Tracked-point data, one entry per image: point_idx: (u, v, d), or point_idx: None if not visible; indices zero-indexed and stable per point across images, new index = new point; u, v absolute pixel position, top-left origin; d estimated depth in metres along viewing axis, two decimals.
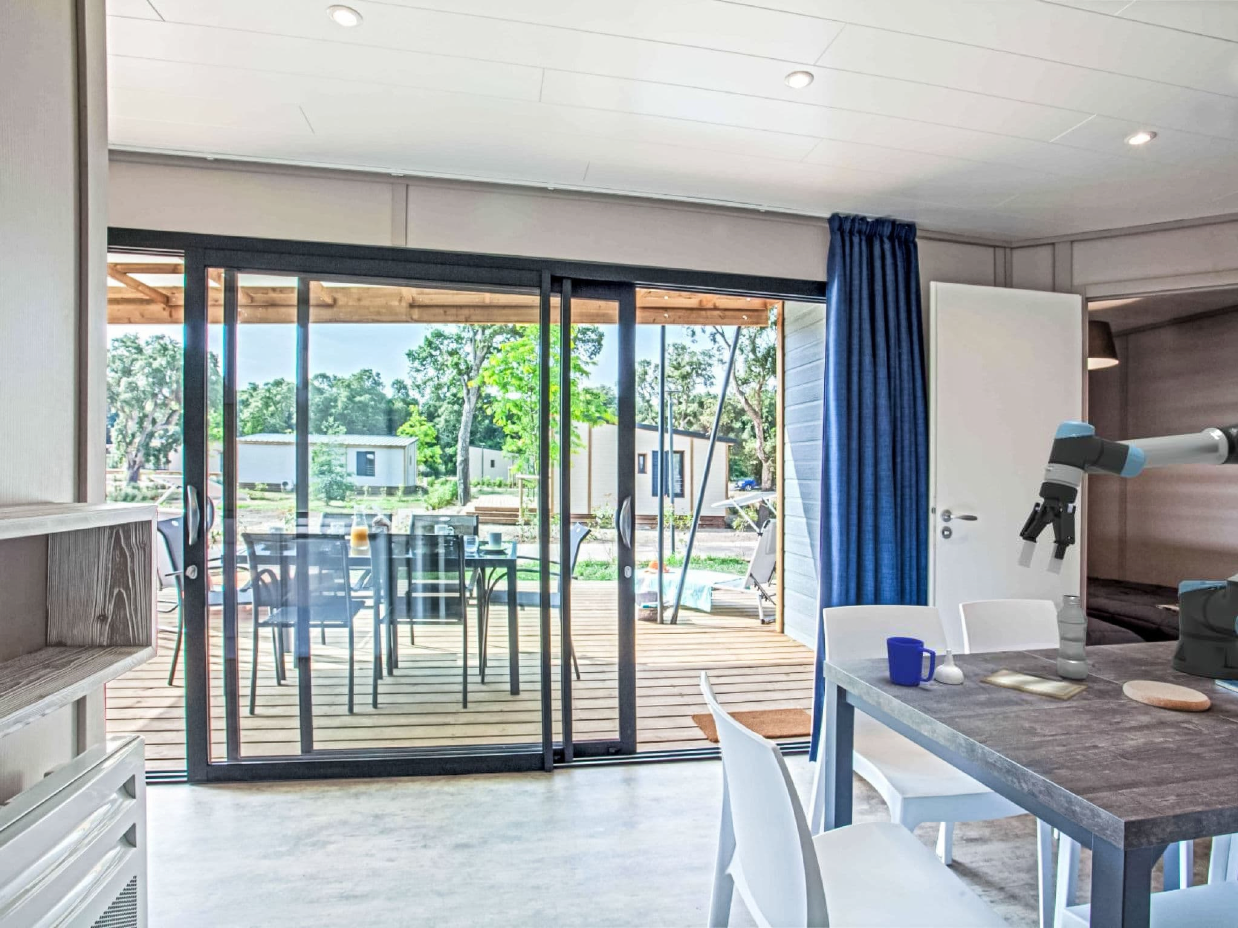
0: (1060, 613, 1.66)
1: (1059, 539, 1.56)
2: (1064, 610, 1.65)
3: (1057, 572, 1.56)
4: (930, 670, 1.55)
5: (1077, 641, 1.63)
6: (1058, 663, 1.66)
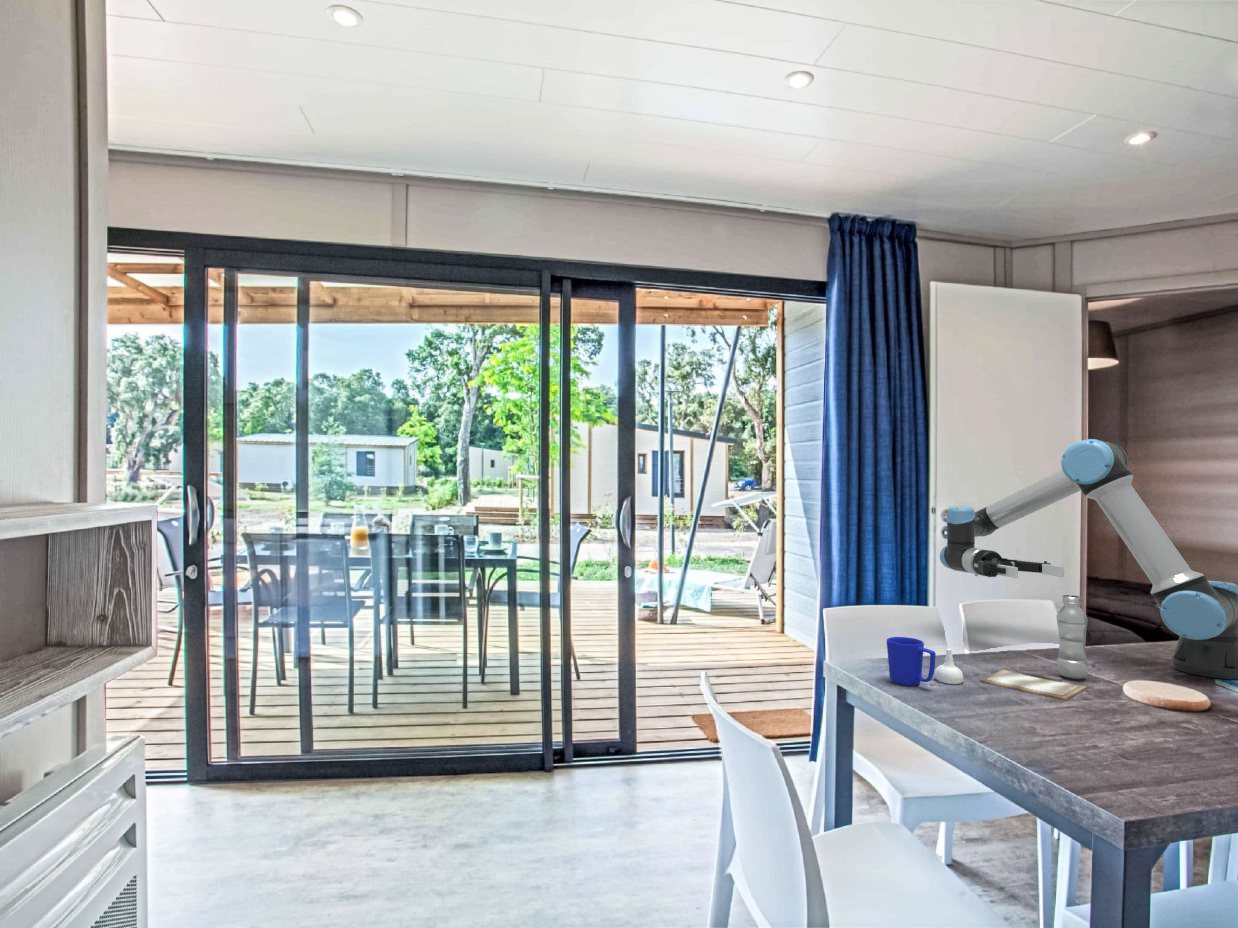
0: (1060, 613, 1.66)
1: (991, 572, 1.82)
2: (1064, 610, 1.65)
3: (1014, 569, 1.75)
4: (930, 670, 1.55)
5: (1077, 641, 1.63)
6: (1058, 663, 1.66)
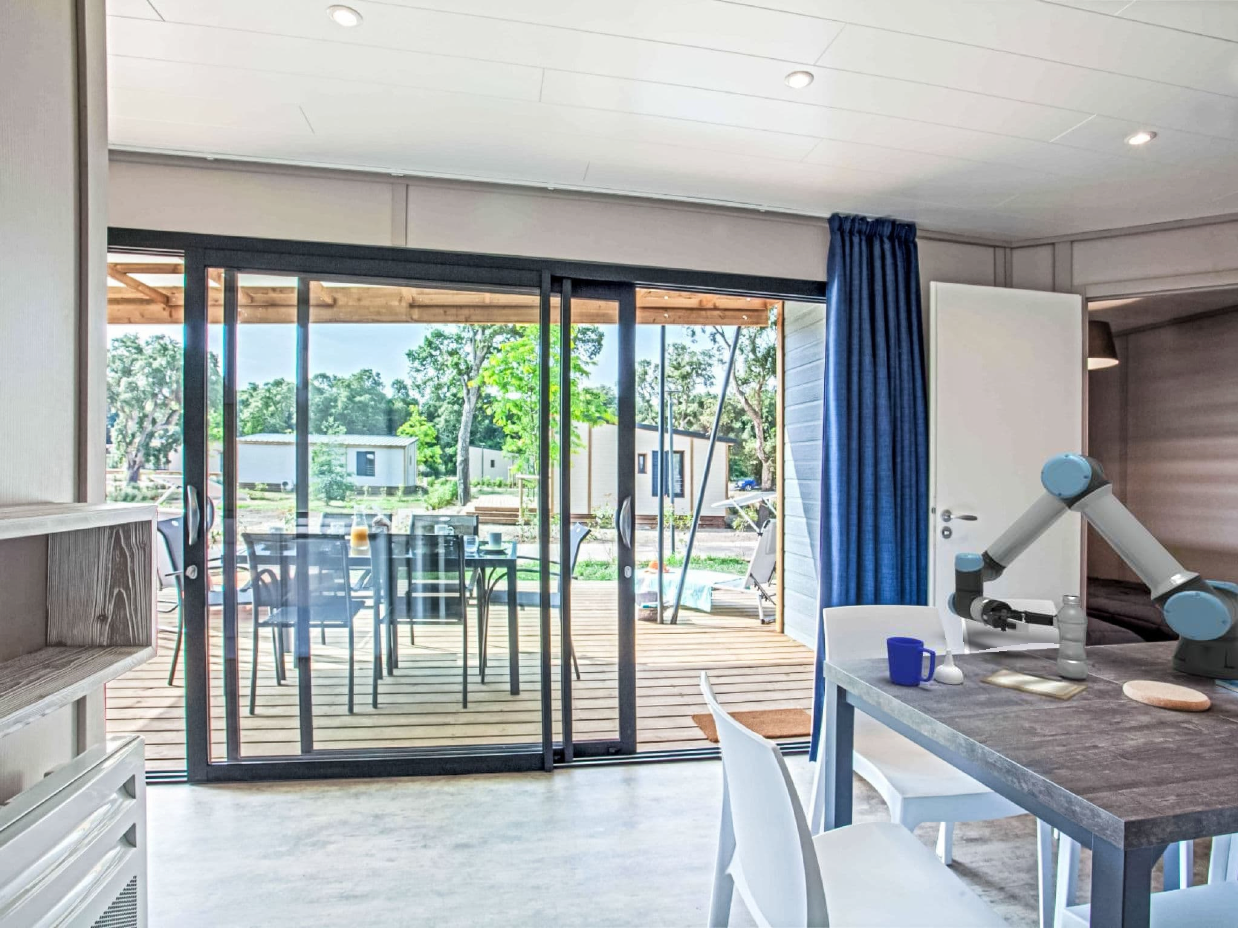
0: (1060, 613, 1.66)
1: None
2: (1064, 610, 1.65)
3: (1024, 625, 1.71)
4: (930, 670, 1.55)
5: (1077, 641, 1.63)
6: (1058, 663, 1.66)
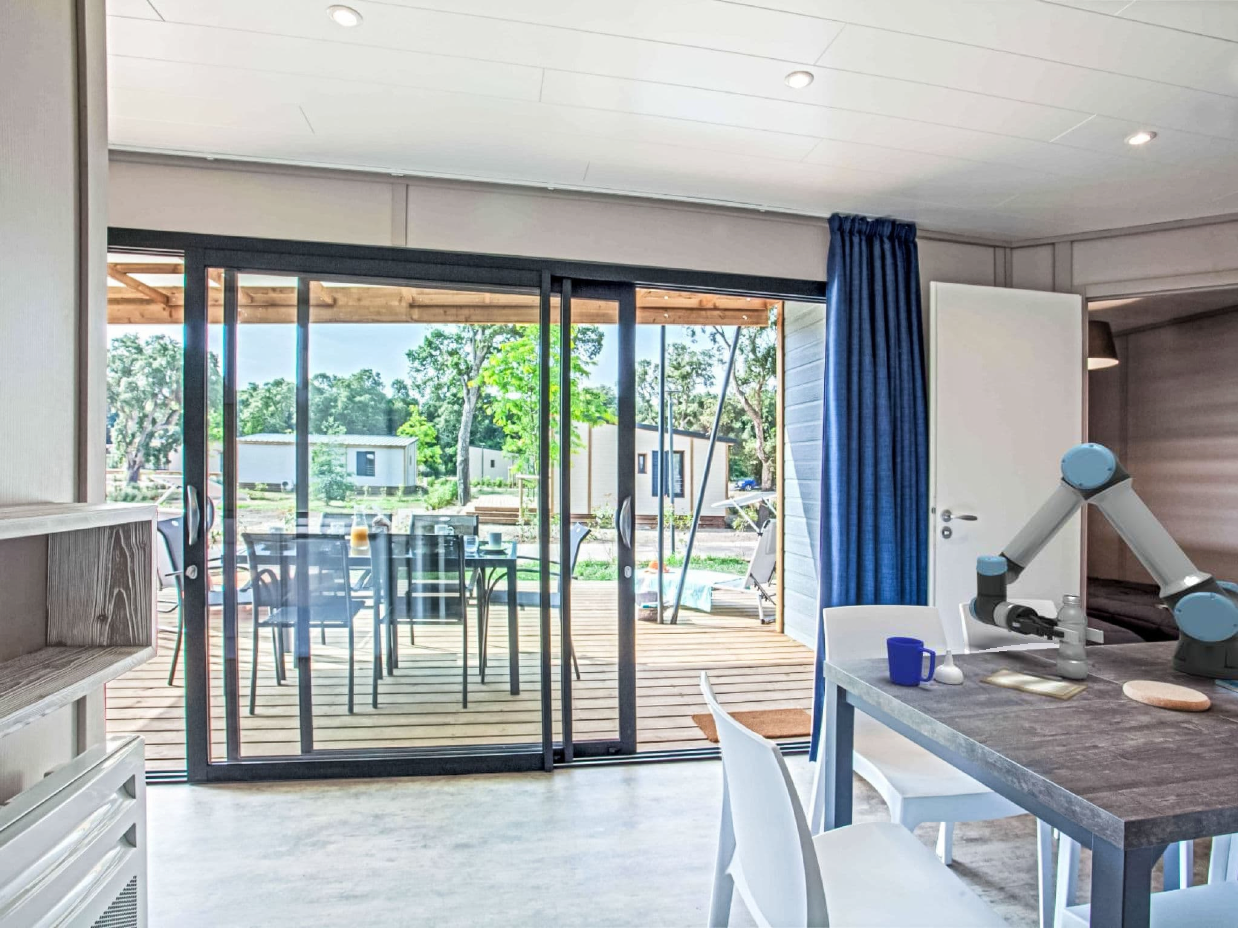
0: (1060, 613, 1.66)
1: (1046, 635, 1.67)
2: (1065, 610, 1.65)
3: (1074, 634, 1.61)
4: (930, 670, 1.55)
5: None
6: (1058, 663, 1.66)
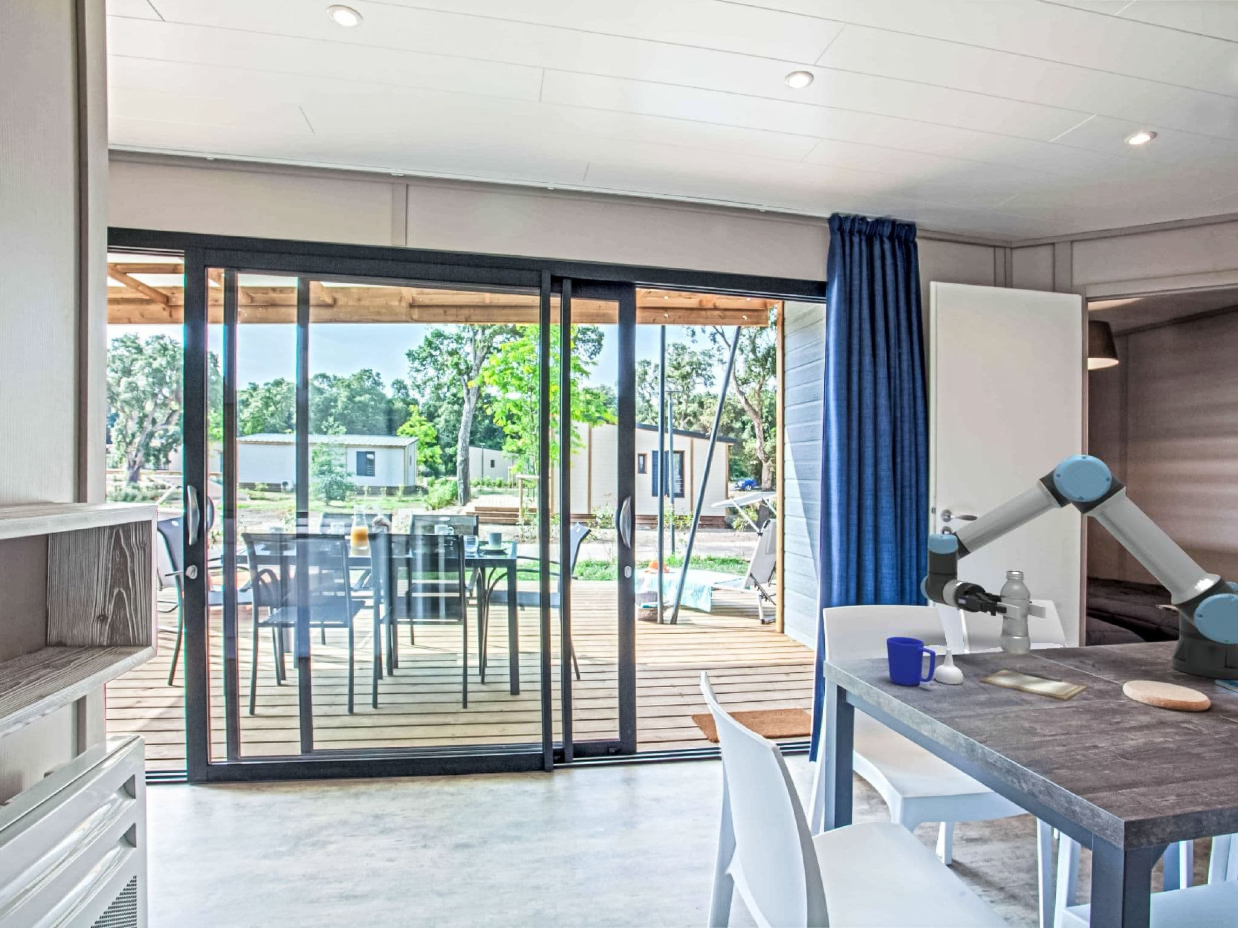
0: (1003, 588, 1.65)
1: (990, 611, 1.66)
2: (1008, 585, 1.64)
3: (1016, 609, 1.59)
4: (930, 670, 1.55)
5: (1020, 617, 1.62)
6: (1001, 639, 1.65)
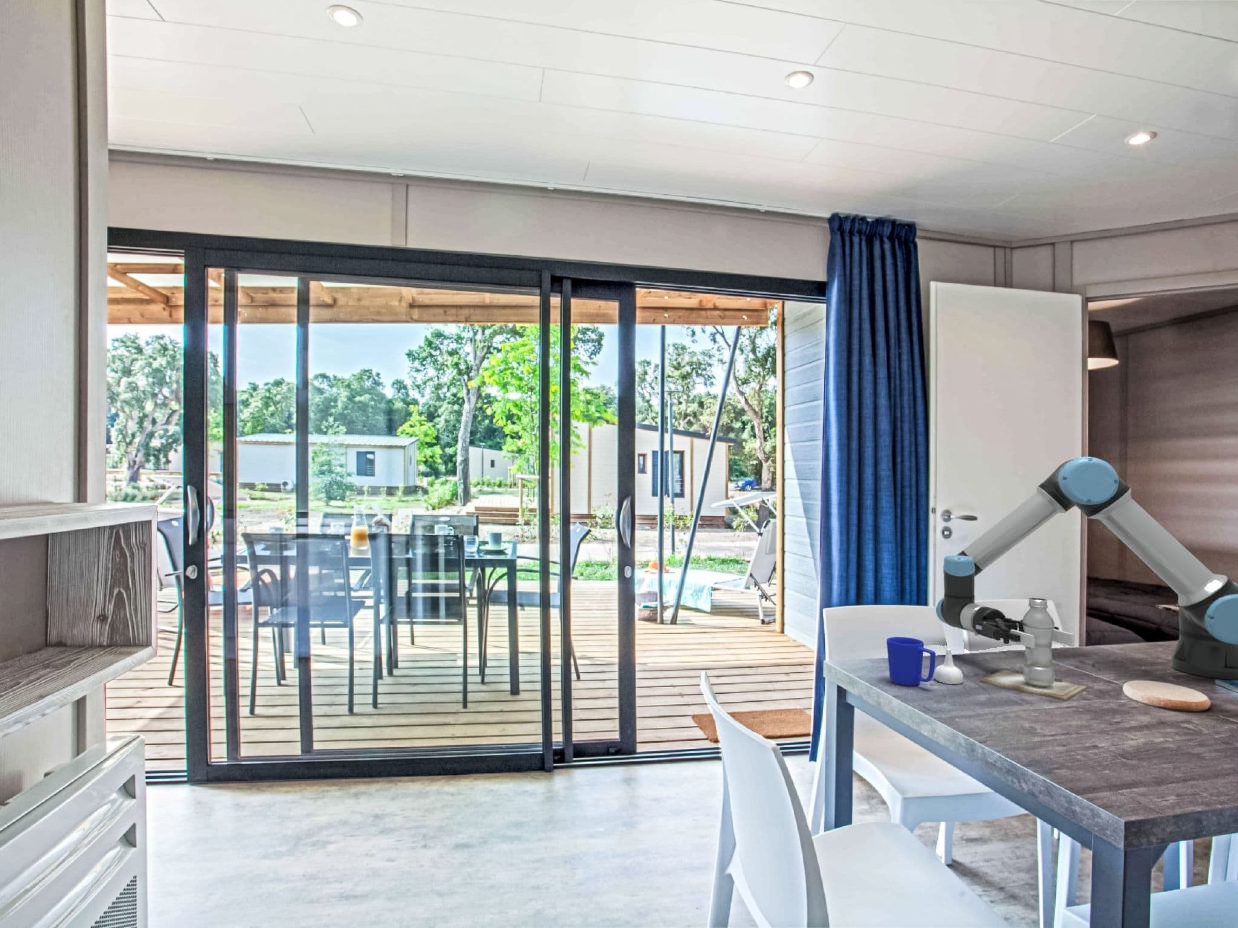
0: (1025, 617, 1.58)
1: (1003, 638, 1.59)
2: (1030, 613, 1.57)
3: (1030, 637, 1.52)
4: (930, 670, 1.55)
5: (1043, 647, 1.55)
6: (1024, 669, 1.58)
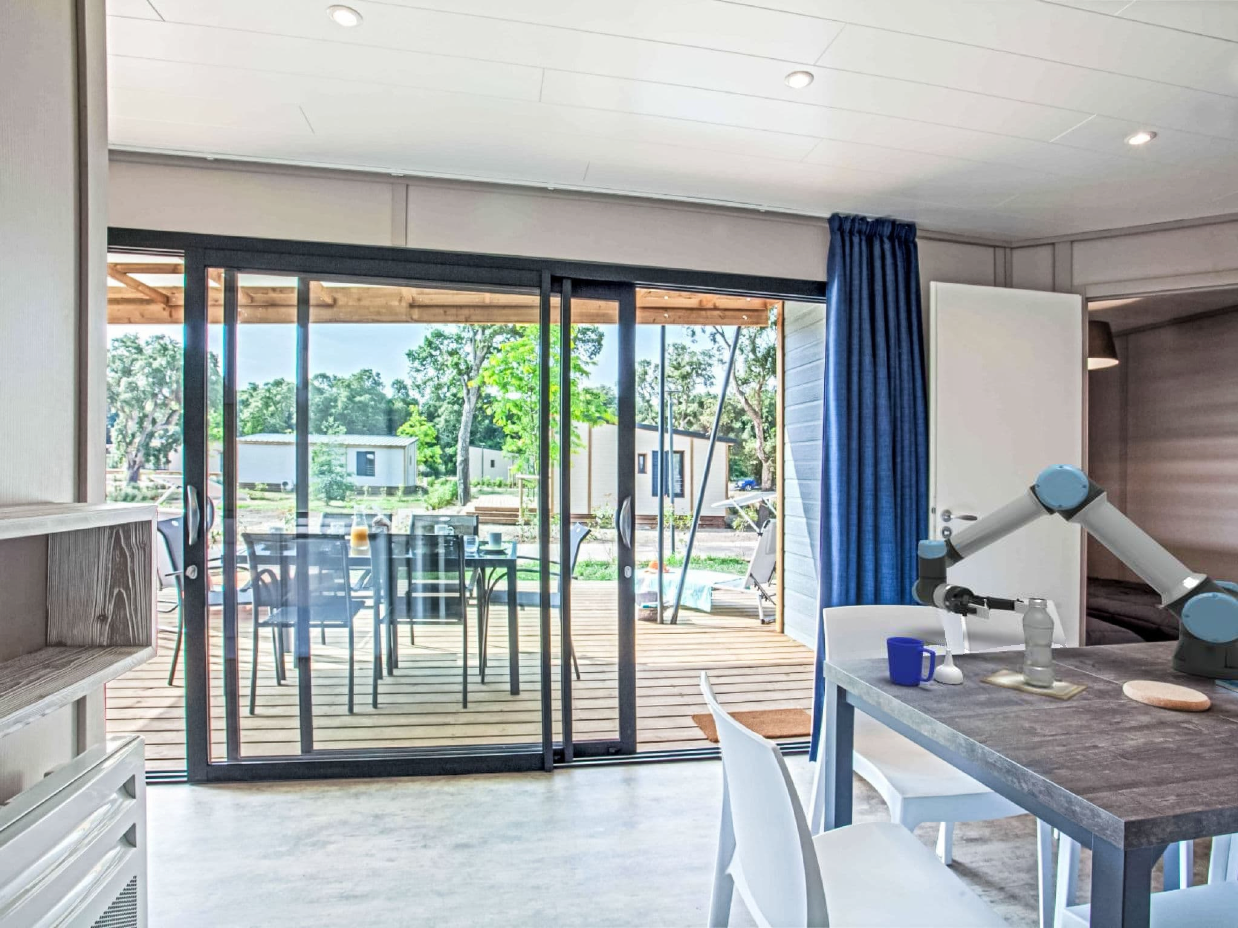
0: (1025, 617, 1.58)
1: None
2: (1030, 614, 1.57)
3: (985, 609, 1.68)
4: (930, 670, 1.55)
5: (1043, 647, 1.55)
6: (1024, 670, 1.58)
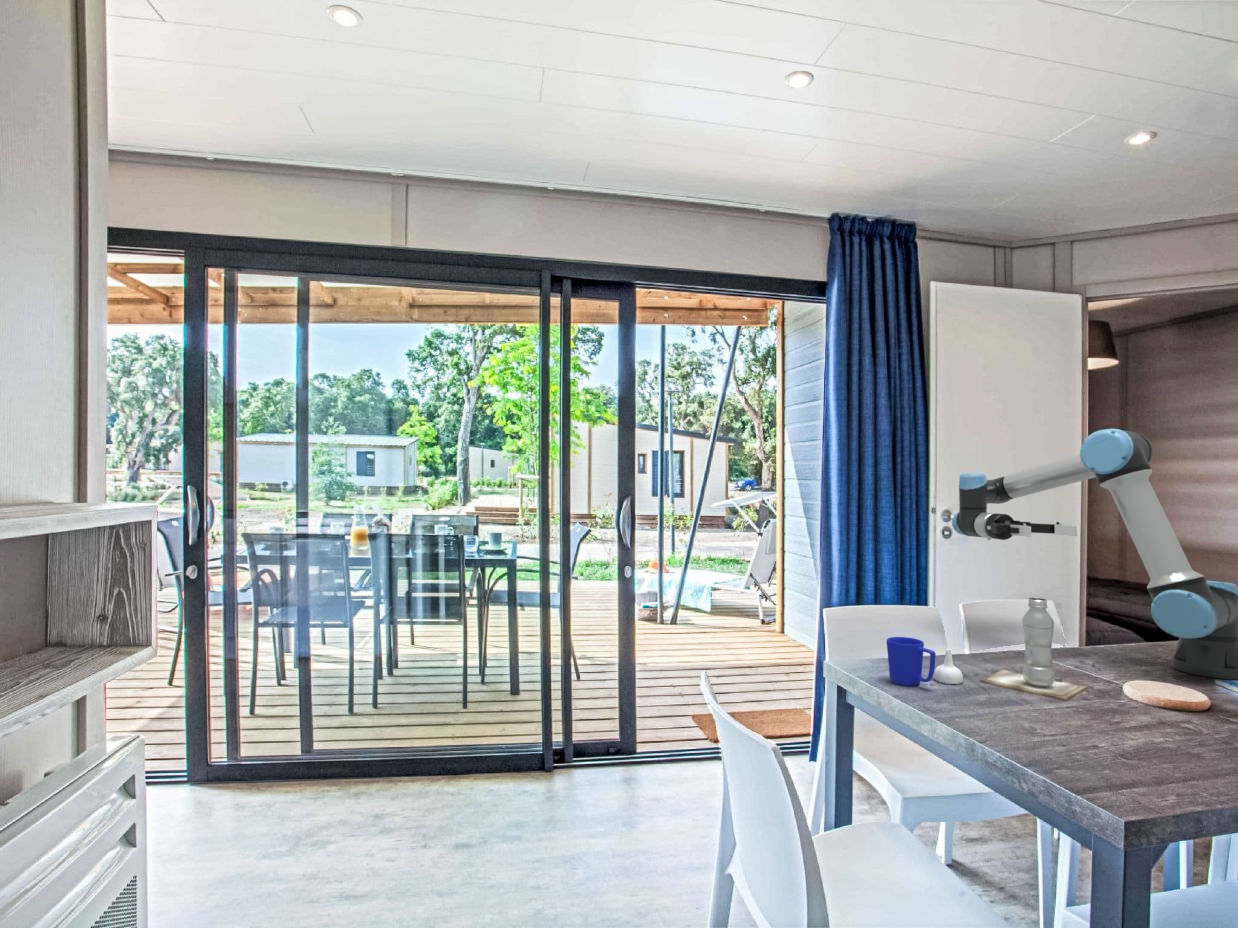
0: (1025, 617, 1.58)
1: None
2: (1030, 614, 1.57)
3: (1027, 528, 1.78)
4: (930, 670, 1.55)
5: (1043, 647, 1.55)
6: (1024, 670, 1.58)
